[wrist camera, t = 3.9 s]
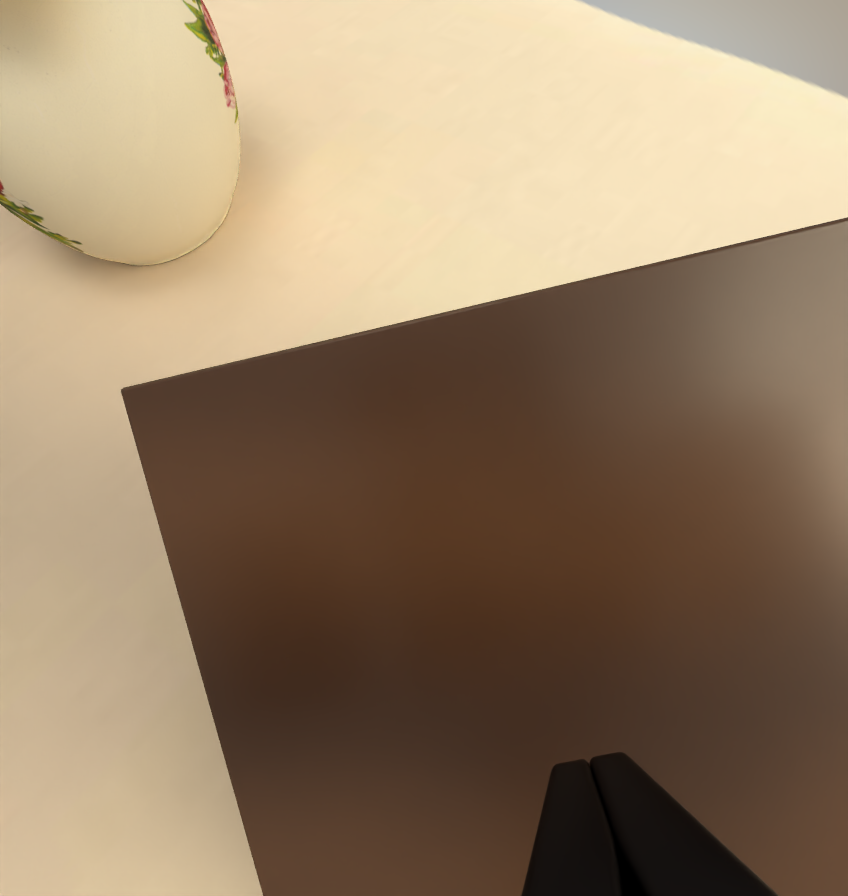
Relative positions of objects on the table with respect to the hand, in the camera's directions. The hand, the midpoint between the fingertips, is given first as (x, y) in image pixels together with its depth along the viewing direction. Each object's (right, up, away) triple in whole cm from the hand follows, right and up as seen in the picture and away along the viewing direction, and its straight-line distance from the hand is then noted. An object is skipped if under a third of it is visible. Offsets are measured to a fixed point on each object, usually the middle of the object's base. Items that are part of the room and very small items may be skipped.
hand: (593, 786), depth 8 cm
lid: (0, 0, +4) cm, 4 cm away
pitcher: (-14, +15, +26) cm, 33 cm away
